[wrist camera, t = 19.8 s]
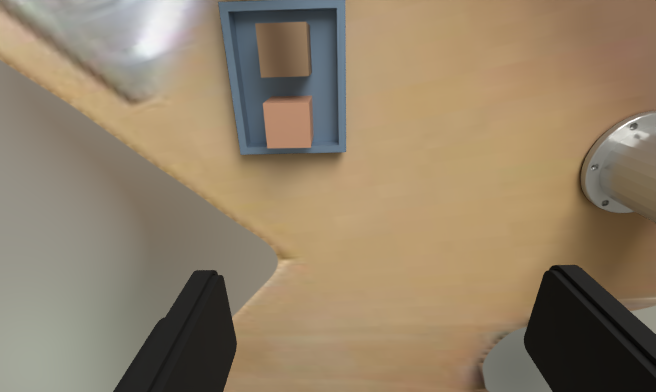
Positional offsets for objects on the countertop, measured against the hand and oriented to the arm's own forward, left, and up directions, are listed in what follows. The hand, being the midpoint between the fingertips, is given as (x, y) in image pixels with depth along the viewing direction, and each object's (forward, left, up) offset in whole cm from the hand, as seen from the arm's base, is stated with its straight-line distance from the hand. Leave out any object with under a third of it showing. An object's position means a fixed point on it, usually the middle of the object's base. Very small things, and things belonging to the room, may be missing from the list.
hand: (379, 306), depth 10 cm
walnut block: (+6, -7, -30) cm, 31 cm away
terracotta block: (+6, 0, -30) cm, 30 cm away
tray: (+6, -4, -30) cm, 31 cm away
